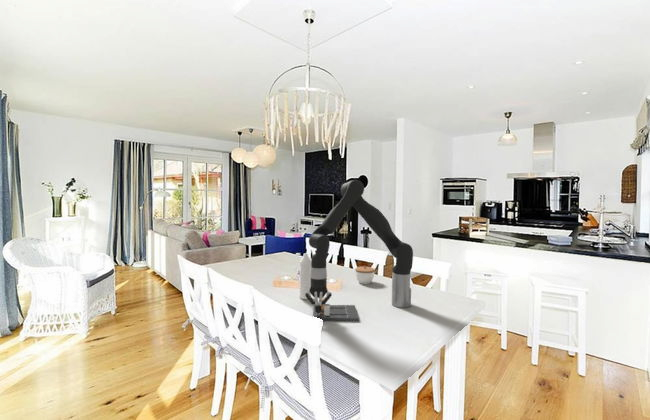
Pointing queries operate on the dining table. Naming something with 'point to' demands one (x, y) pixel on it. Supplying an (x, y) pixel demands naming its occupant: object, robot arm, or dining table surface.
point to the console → (338, 313)
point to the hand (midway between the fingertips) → (318, 312)
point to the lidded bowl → (364, 274)
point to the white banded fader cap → (327, 309)
